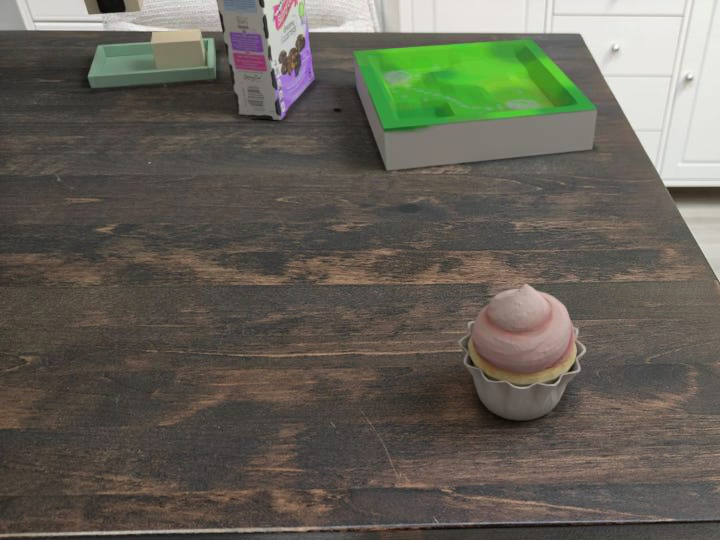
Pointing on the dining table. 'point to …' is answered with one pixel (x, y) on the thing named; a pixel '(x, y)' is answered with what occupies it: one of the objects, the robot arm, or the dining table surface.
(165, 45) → the seated pad
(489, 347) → the cupcake
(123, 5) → the robot arm
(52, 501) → the dining table surface
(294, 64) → the candy box
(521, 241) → the dining table surface
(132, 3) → the loose pad
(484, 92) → the tray
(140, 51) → the frame
